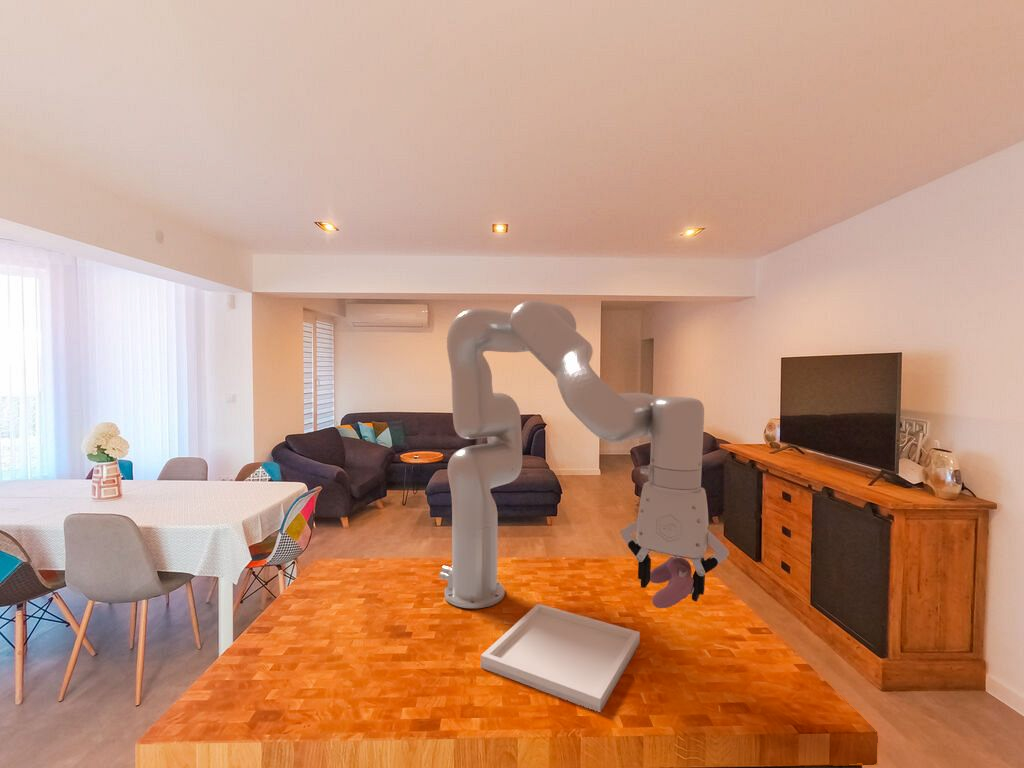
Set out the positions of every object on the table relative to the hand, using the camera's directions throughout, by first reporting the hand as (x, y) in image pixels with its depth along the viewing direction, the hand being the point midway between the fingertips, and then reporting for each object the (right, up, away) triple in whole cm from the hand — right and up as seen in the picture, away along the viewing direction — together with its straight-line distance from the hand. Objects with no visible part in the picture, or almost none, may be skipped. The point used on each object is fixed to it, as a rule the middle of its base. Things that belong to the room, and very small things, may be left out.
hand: (670, 590), depth 75 cm
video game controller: (0, -1, 0) cm, 1 cm away
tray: (-16, -13, +6) cm, 22 cm away
